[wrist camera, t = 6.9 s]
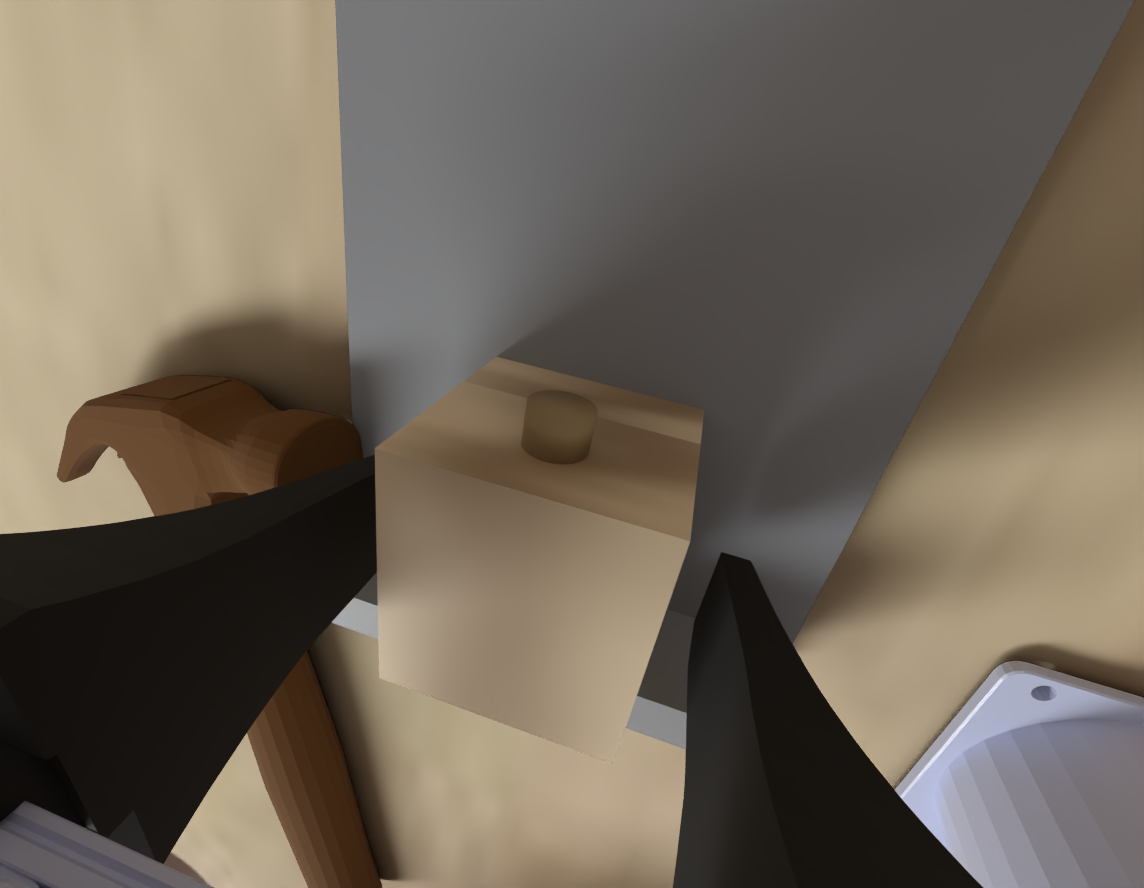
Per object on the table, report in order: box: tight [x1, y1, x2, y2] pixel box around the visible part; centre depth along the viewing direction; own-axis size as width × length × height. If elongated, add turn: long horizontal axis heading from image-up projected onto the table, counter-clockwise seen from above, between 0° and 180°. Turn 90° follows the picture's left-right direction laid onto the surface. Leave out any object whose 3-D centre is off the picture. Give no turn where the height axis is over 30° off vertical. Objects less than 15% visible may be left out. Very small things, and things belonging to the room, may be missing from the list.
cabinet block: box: [375, 357, 704, 764], centre depth 11 cm, size 5×6×5 cm
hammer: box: [57, 375, 382, 888], centre depth 22 cm, size 12×3×30 cm
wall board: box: [331, 0, 1135, 749], centre depth 11 cm, size 13×18×4 cm
